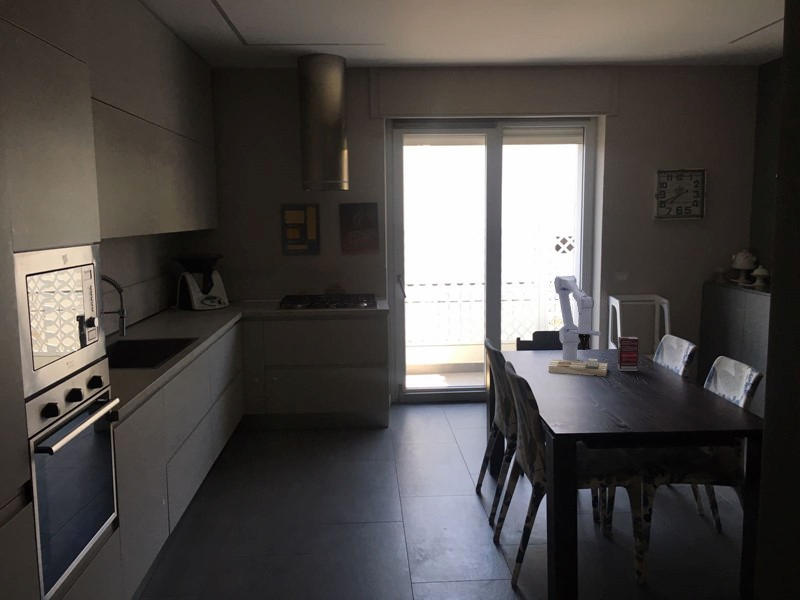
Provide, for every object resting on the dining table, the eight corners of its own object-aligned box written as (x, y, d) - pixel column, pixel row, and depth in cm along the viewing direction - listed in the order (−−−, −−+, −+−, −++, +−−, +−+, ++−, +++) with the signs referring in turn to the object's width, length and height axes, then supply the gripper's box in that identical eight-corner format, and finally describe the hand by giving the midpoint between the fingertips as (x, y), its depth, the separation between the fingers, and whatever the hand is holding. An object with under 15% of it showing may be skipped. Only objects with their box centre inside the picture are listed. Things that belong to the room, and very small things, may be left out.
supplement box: (635, 368, 309) (636, 336, 307) (637, 371, 304) (639, 338, 302) (616, 368, 310) (618, 336, 308) (619, 371, 305) (620, 338, 303)
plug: (588, 370, 307) (588, 358, 306) (596, 371, 305) (597, 359, 304) (587, 372, 303) (587, 360, 302) (596, 373, 302) (596, 360, 301)
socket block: (552, 365, 318) (552, 358, 317) (607, 369, 308) (607, 362, 308) (548, 371, 305) (548, 364, 304) (605, 376, 295) (605, 369, 295)
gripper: (568, 322, 306) (567, 350, 308) (600, 324, 301) (599, 352, 303) (570, 320, 313) (569, 347, 315) (601, 321, 308) (600, 349, 309)
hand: (584, 349), depth 309 cm, fingers closed
